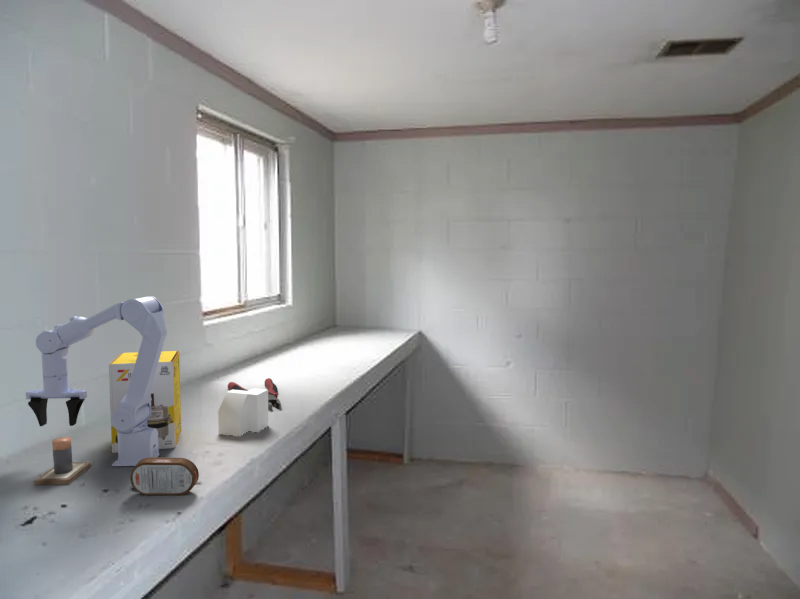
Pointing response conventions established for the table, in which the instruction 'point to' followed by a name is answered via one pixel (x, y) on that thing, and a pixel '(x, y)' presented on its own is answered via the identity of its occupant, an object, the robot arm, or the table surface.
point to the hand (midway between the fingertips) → (58, 424)
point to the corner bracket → (243, 412)
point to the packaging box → (151, 395)
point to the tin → (164, 476)
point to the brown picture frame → (62, 475)
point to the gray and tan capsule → (62, 455)
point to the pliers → (271, 393)
